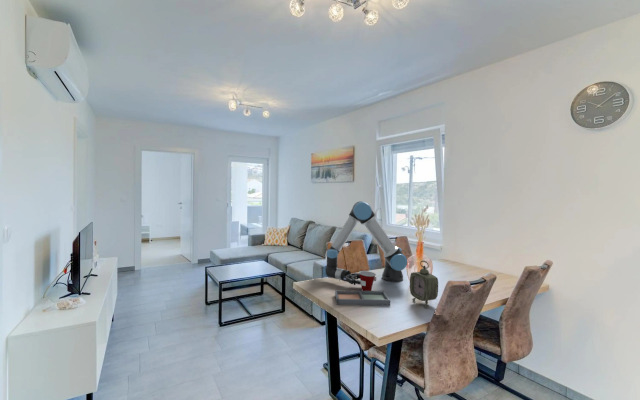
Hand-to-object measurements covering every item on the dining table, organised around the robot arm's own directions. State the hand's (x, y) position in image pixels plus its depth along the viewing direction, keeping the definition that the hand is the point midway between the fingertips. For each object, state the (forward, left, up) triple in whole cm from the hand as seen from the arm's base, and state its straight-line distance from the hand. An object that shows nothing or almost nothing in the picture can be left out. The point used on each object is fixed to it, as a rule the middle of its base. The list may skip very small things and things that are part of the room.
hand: (371, 281), depth 193 cm
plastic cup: (+2, -2, -7) cm, 8 cm away
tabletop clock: (-27, +19, -7) cm, 34 cm away
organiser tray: (+8, +14, -7) cm, 18 cm away
